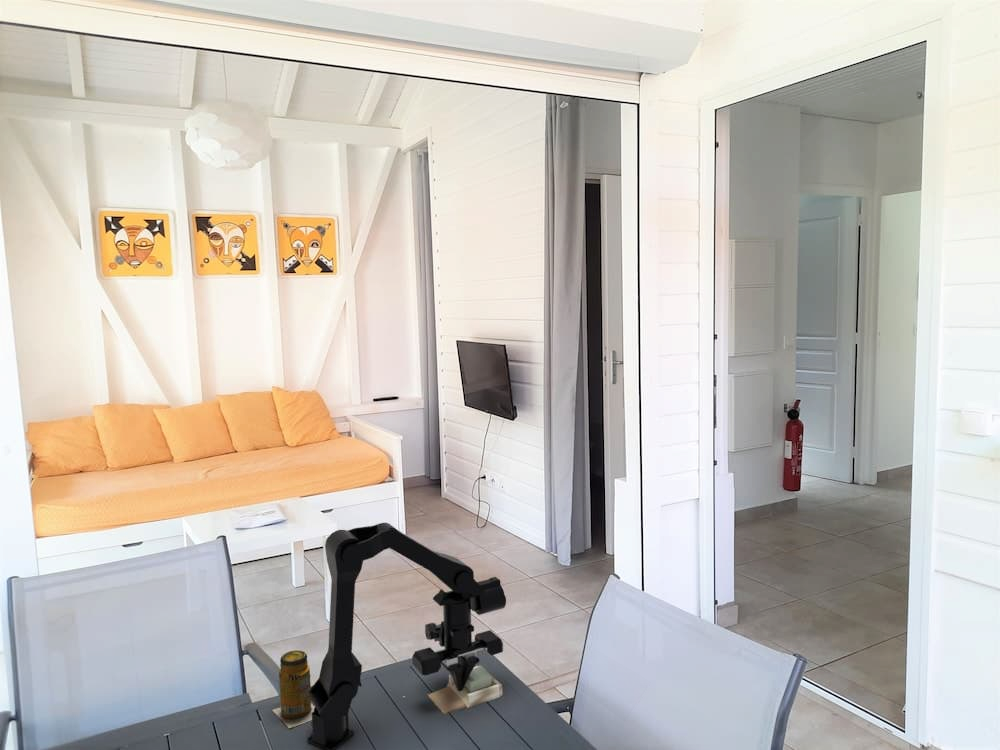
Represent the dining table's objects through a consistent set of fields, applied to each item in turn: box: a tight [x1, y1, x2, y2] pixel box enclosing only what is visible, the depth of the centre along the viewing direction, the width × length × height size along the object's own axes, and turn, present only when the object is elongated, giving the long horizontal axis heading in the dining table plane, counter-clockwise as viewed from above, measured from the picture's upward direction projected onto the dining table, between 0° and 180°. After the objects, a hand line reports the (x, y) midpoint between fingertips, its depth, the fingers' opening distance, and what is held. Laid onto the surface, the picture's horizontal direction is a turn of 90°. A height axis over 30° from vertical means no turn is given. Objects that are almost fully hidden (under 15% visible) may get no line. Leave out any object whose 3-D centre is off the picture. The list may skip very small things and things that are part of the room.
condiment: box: [272, 650, 315, 729], centre depth 147 cm, size 7×8×12 cm
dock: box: [427, 664, 503, 714], centre depth 153 cm, size 13×10×3 cm
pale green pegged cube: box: [464, 665, 493, 693], centre depth 154 cm, size 5×5×4 cm
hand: (459, 690), depth 152 cm, fingers closed
